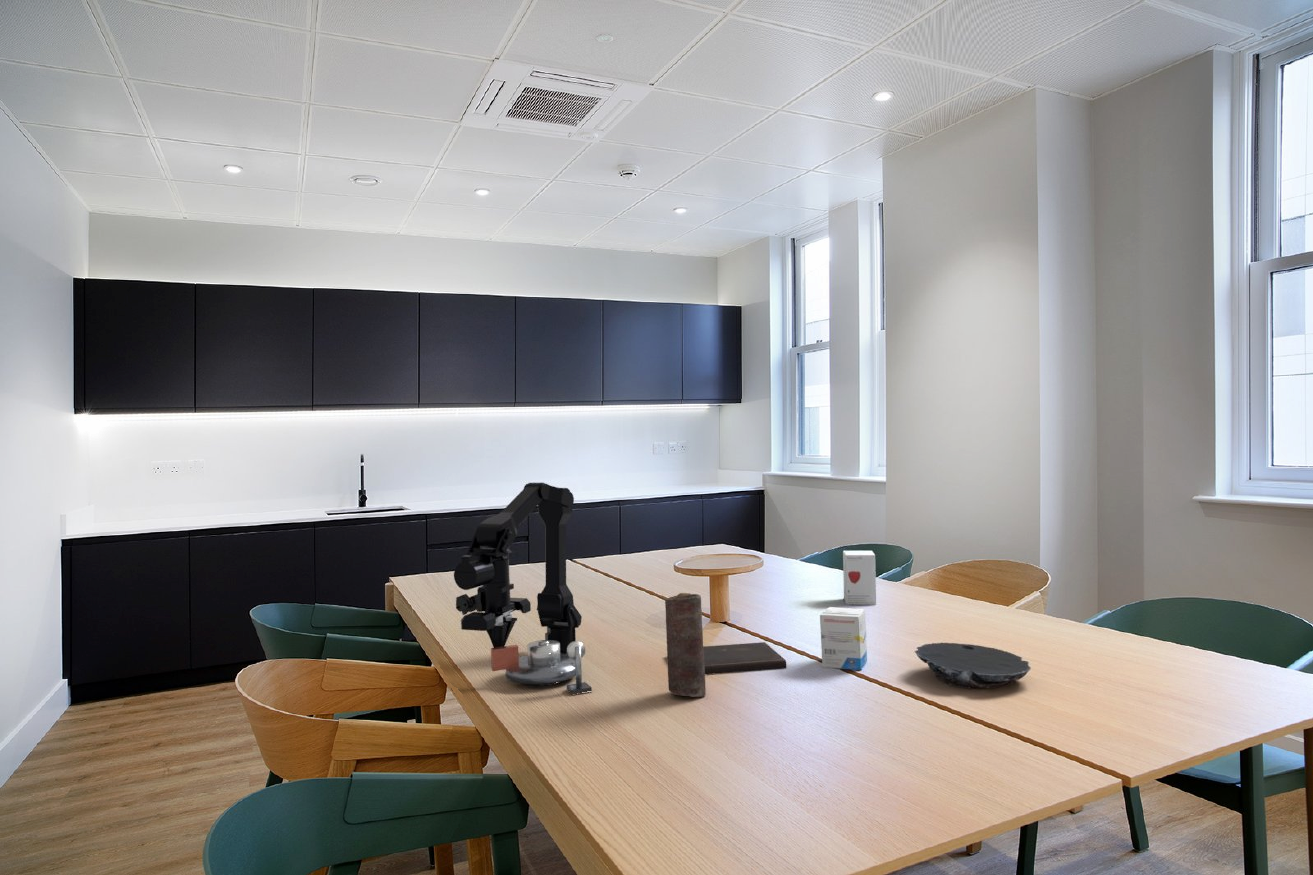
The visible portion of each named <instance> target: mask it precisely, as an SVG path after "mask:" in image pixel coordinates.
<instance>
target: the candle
mask: <svg viewBox="0 0 1313 875" xmlns="http://www.w3.org/2000/svg"><path fill="white" fill-rule="evenodd" d="M664 606H665V626H666V628H665V630H666V653H667V654H666V657H667V661H666V662H667V679H668V680H667V683H668V691H669V692H670V693H671V694H672V695H675V696H676V695H677V696H683V697H692V698H703V697H706V693H707V692H706V691H707V689H706V675H705V667H704V651H703V647H704V635H703V633H704V632H703V618H702V617H703V613H702V612H703V610H702V609H703V608H702V597H701V595H700V594H698V593H689V592H688V593H687V592H680V593H678V594H677V595H674V596H673V595H672V596H669V597H666V598H665V599H664Z"/></svg>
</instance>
